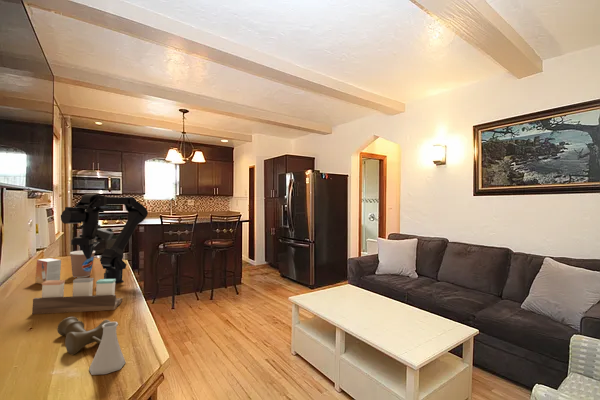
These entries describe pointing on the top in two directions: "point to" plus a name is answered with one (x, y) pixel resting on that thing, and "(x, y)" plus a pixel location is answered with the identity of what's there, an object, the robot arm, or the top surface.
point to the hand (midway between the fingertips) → (88, 258)
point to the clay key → (53, 288)
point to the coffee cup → (81, 264)
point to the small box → (47, 270)
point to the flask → (108, 352)
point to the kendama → (78, 334)
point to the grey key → (83, 286)
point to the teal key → (105, 287)
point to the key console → (75, 304)
